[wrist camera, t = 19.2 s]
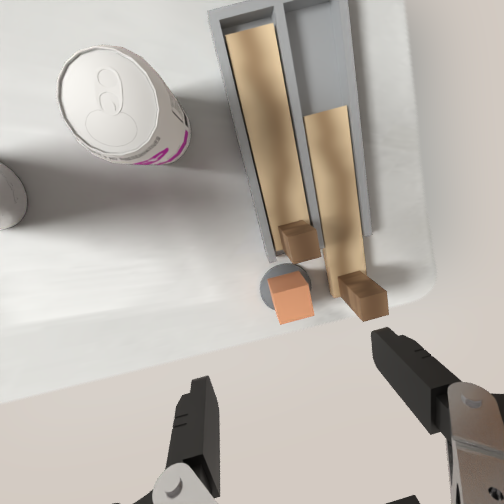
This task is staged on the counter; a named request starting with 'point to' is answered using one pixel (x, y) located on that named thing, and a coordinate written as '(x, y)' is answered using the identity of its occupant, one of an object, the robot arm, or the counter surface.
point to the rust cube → (291, 297)
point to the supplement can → (121, 107)
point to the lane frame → (299, 86)
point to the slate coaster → (276, 272)
